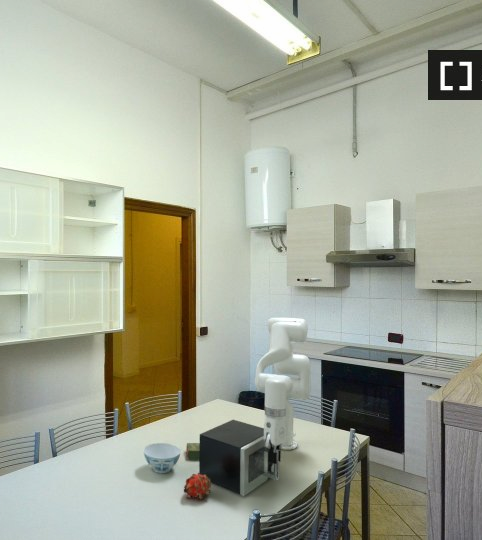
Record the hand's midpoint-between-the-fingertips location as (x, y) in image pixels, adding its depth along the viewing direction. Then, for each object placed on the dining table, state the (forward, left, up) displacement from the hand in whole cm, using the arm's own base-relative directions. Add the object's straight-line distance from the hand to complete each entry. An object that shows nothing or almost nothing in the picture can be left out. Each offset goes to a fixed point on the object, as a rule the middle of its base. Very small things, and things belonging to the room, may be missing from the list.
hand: (274, 461), depth 161 cm
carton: (-3, -34, -10) cm, 35 cm away
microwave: (+3, -14, -9) cm, 17 cm away
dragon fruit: (+27, -16, -10) cm, 33 cm away
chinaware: (+20, -39, -10) cm, 45 cm away
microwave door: (+6, -2, -9) cm, 11 cm away
